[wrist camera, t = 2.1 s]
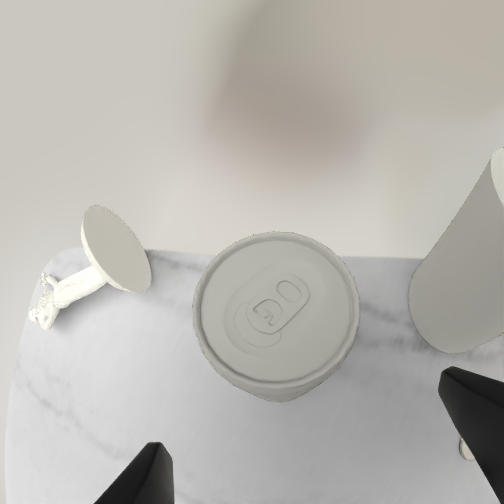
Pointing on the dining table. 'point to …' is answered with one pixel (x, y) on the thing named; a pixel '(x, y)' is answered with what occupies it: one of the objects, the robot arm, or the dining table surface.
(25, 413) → the dining table surface
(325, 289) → the beverage can
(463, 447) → the ashtray
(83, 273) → the figurine
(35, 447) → the dining table surface
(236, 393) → the dining table surface
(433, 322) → the cup
